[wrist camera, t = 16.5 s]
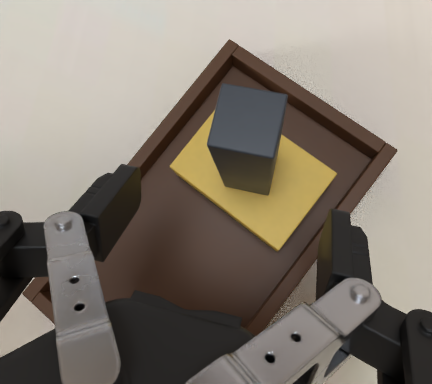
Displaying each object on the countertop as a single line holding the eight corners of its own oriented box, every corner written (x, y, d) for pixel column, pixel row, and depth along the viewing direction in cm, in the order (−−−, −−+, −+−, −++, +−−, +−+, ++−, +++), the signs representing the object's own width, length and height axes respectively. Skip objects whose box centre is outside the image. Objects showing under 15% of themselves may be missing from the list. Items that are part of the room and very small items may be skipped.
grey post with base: (177, 175, 26) (122, 116, 15) (229, 111, 26) (209, 10, 16) (276, 252, 24) (290, 243, 14) (329, 182, 24) (382, 122, 14)
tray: (40, 291, 26) (21, 293, 24) (231, 55, 27) (229, 38, 25) (186, 427, 23) (179, 442, 21) (386, 159, 25) (398, 149, 23)
